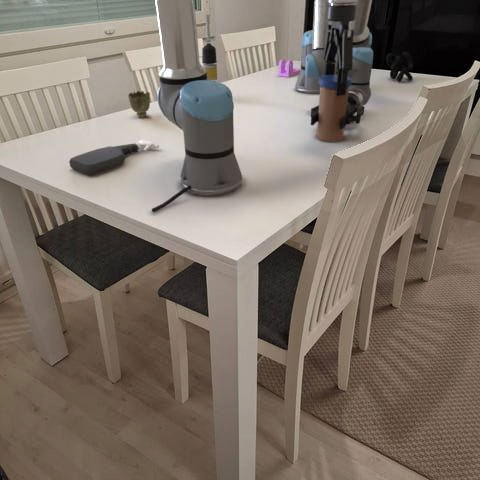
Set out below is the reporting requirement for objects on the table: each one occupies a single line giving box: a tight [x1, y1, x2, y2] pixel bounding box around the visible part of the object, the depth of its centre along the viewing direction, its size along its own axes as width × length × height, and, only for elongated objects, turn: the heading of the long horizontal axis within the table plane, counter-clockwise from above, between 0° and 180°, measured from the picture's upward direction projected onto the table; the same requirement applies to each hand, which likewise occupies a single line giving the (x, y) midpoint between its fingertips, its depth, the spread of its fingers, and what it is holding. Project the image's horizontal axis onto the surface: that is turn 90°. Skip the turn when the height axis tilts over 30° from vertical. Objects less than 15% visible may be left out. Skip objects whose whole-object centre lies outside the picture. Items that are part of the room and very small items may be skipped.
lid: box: [319, 75, 352, 88], centre depth 129 cm, size 9×9×2 cm
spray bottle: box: [68, 139, 160, 177], centre depth 124 cm, size 3×11×24 cm
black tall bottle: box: [201, 14, 218, 82], centre depth 171 cm, size 6×6×30 cm
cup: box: [127, 90, 151, 118], centre depth 157 cm, size 8×7×8 cm
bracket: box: [277, 59, 301, 78], centre depth 213 cm, size 13×6×7 cm, turn 143°
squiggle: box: [385, 51, 414, 83], centre depth 198 cm, size 11×10×15 cm
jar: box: [316, 86, 349, 143], centre depth 133 cm, size 8×8×17 cm
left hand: (334, 90), depth 130 cm, fingers open, 9 cm apart
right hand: (326, 122), depth 131 cm, fingers closed on jar, 8 cm apart
